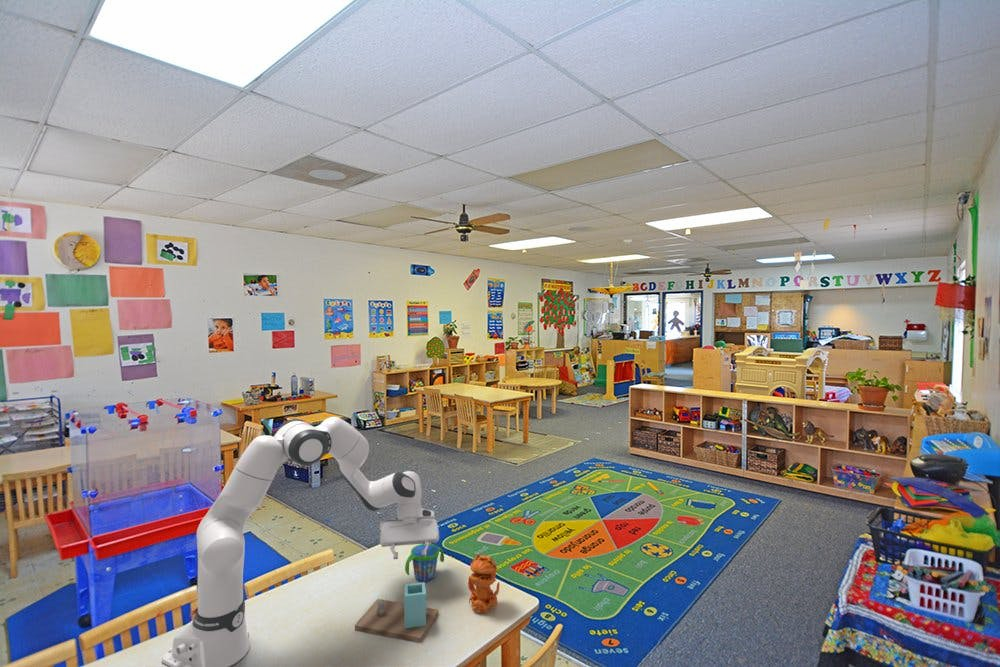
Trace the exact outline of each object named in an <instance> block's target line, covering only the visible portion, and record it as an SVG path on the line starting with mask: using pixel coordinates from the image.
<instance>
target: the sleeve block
mask: <svg viewBox="0 0 1000 667" xmlns="http://www.w3.org/2000/svg"><path fill="white" fill-rule="evenodd" d="M403 587H404V589H403V590H404V591H403V592H404V595H403V596H404V599H403V603H404V620H405V628H411V627H419V626H426V607H427V590H426V582H424V581H422V582H415V583H408V584H407V583H406V584H404V586H403Z"/></svg>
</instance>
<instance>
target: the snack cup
mask: <svg viewBox="0 0 1000 667" xmlns="http://www.w3.org/2000/svg"><path fill="white" fill-rule="evenodd" d="M425 547H426V546H425V544H416V545H415V546H413V547H412V548H411V550H410V555H409V556H408V557H407V559H406V561H405V567H404V572H405V573H406V574H407V576H409V575H410V563H411V561H412V566H413V575H414V578H415V580H416V581H420V582H425V583H426V582H428V581H431V580H432V579H434V578H435V576H436V572H437V571H436V570H437V565H438V557H439V561H440V562H441V563H444V561H445V554H444V550H443V549H442V548H441V547H439V546H437V545H436V544H434V543H429V547H428V549H427V551H426V557H422V550H424V549H425ZM439 554H440V555H439Z"/></svg>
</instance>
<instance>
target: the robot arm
mask: <svg viewBox="0 0 1000 667" xmlns="http://www.w3.org/2000/svg"><path fill="white" fill-rule="evenodd" d="M369 444H370V443H369V441H368V440H367V438H366V437H365V436H364V435H363V434H362V433H361V432H360V431H358V429H356V428H355V427H354V426H353V425H351V424H350V423H349V422H347V421H345V420H344V419H343V418H340V417H339V416H330V417H328V418H326V419H324V420H323V421H322V422H321V423H320V424H318V425H317V426H313V425H312V424H310V423H308V422H306V420H302V419H297V418H295V419H290V420H287V421H285V422H283V423H282V424H281V425H280V426H279V427H278V428H276V429H275V430H274V431H272V433H271V434H270V435H269V434H268V435H265V434H264V435H259V436H256V437H254V439H253V440H252V441H251V442H250V443H249V444H248V446H247V447H246V448H245V449H244V451H243V453H242V454H241V456H240V457H239V459H238V460H237V462H236V464H235V466H234V468H233V469H232V472H231V474H230V475H229V477H228V479H227V481H226V483H225V485H224V487H223V489H222V490H221V492H220V494H219V495H218V497H217V498H216V500H215V501H214V502H213V504H212V505H211V507H210V508H209V509H208V511H207V513H206V514H205V515H204V516H203V517H202V519H201V520H200V523H199V525H198V527H197V529H196V549H197V607H196V608H194V609H193V610H192V611H191V612H189V614H190V615H189V617H193V619H192V620H191V621H189V622H188V623H187V624H185V626H183V627H182V628H181V629H179V631H178V632H177V633H176V634H175V636H174V637H173V641H172V646H171V647H170V648H168V649H167V650H166V652H165V653H164V654H163V656H162V658H161V662H162V664H165V665H167V666H168V667H231V666H232V665H234V664H236V663H239V661H240V660H241V659H243V658H244V657H245V656H246V655H247V654H248V652H249V651H250V647H251V642H250V638H249V634H250V632H249V629H248V628H247V621H246V620H247V619H246V599H245V597H244V576H243V575H244V564H245V548H246V546H245V544H246V543H245V542H246V540H245V535H244V534H243V533H244V532H243V530H244V526H245V525H246V522H247V521H248V519H249V518H250V517H251V515H252V514H253V512H255V510H256V509H257V508H259V506H261V504H262V502H263V500H264V498H265V496H266V494H267V492H268V490H269V489H270V486H271V484H272V482H273V480H274V478H275V477H276V474H277V472H278V470H279V468H280V467H281V466H282V465H283V464H284V462H286V461H287V460H289V459H290V460H291V461H292V462H294V463H295V464H298V465H300V466H311V465H313V464H316V463H317V462H319V461H320V460H321V459H323V457H324V456H326V455H327V454H329V455H330V456H331V457H332V458H334V459H335V460H336V462H337V470H338V472H339V474H340V475H341V477H342V478H343V480H344V481H345V482H346V483H347V484H348V485H349V486H350V487H351V489H352V490H353V491H354V493H356V495H357V497H358V498H359V499H360V501H361V503H362V504H363V506H364V507H365V508H366V509H367V510H369V511H370V512H377V511H379V510H381V509H383V508H386V507H388V506H390V505H392V504H394V503H396V504H397V510H396V515H397V516H396V517H390V518H388V517H387V518H383V519H382V520H381V521H380V522H379V531H380V535H379V536H380V537H379V545H380V546H381V547H383V548H384V547H389V548H390V549H389V550H390V551H391V553H392V555H393V560H399V559H398V557H399V552H398V551H395V547H398V546H407V545H408V546H410V545H413V546H414V545H420V544H425V546H426V547H425V549H424V550H422V557H426V551H427V549H428V547H429V544H436V543H438V542H439V539H440V531H439V530H440V529H439V526H438V522H437V520H436V519H435V516H436V515H435V511H433V510H430V509H426V508H423V505H422V484H421V483H422V482H421V478H420V476H419V474H418V473H417V472H414V471H412V470H405V471H404V472H401V471H397V472H394V473H391V474H389V475H386V476H384V477H382V478H379V479H376V480H369V479H368V478H367V477H366V476H365V475H364V473H363V472H362V471H361V470H360V468H361V467H362V466H363V464H364V463H365V462H366V461H367V459H368V456H369V452H370V445H369ZM193 615H194V616H193Z"/></svg>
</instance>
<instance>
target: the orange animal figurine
mask: <svg viewBox="0 0 1000 667" xmlns="http://www.w3.org/2000/svg"><path fill="white" fill-rule="evenodd" d="M495 561H496V560H494V559H493V557H490V556H487V555H485V554H482V555H481V554H476V557H474V558H473V559H472V560H471V563H470V570H471V572H472V573H471V574H470V575H469V576H468V582H467V587H468V591H469V592H470V593H471V594H470V597H469V599H468V604H471V609H472V611H474V610H475V611H477V612H478V613H488V612H489V611H490V610H491V609H492V606H493V607H494V609H497V606H498V597H497V596H498V595H499V592H500V582H499V581H498V582H497V583H496V590H495V591H494V590H493V589H492V588H491V586H492V585H494V583H495V582H496V581H497V578H496V577H497V576H496V575H497V570H498V567H497V564H496V562H495Z"/></svg>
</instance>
